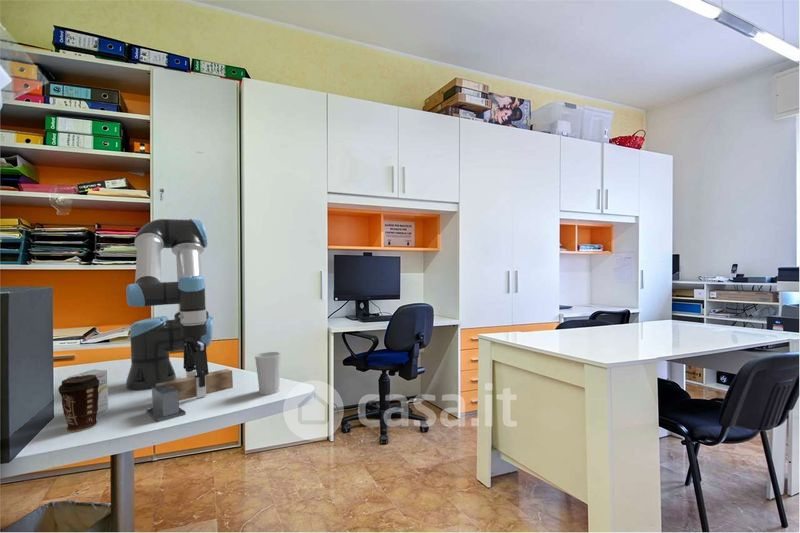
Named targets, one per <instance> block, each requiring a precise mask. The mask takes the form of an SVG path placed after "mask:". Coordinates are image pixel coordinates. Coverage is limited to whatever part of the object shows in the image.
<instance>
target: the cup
mask: <svg viewBox="0 0 800 533" xmlns="http://www.w3.org/2000/svg"><path fill="white" fill-rule="evenodd" d="M281 356H282V353H281V352H279V351H266V352H260V353H258V354H255V355H254V359H255V366H256V373H257V374H256V375H257V382H258V393H259V394H260V395H274V394H277V393H278V392H280V390H281V388H280V383H281V382H280V381H281V359H282V358H281Z"/></svg>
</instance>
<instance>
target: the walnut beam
mask: <svg viewBox="0 0 800 533" xmlns="http://www.w3.org/2000/svg"><path fill="white" fill-rule="evenodd" d="M233 379H234V378H233V370H232V369H228V368H226V369H225V368H224V369H221V370H220V369H219V370H215V371H209V374H208V375H206V395H208V394H212V393H217V392H221V391H225V390H228V389H229V390H230V389H233V388H234V381H233ZM164 384H168V385H170V386H171V387H173V388H175V389H176V390H178V397H179V402H180V401H184V400H187V399H188V400H189V399H192V398H197V393H196V378H195V376H191V377H187V376H185V377H183V378H182V377H181V378H179V379H177V378H176V380H172V381H168V382H163V383H158V384H156V386H160V385H164Z"/></svg>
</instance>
